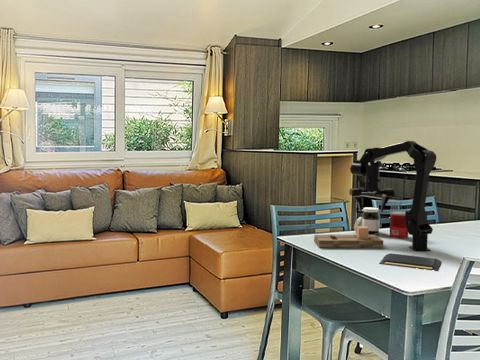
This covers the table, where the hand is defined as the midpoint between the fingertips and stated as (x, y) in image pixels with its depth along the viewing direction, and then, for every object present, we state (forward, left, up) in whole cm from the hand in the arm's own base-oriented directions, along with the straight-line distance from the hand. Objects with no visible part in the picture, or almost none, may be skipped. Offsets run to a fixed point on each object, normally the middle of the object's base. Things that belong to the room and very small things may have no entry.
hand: (371, 211), depth 209 cm
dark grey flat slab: (-40, -3, -13) cm, 42 cm away
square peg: (-12, +7, -12) cm, 18 cm away
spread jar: (+14, -2, -12) cm, 19 cm away
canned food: (+4, -14, -12) cm, 19 cm away
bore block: (-12, +13, -12) cm, 21 cm away
